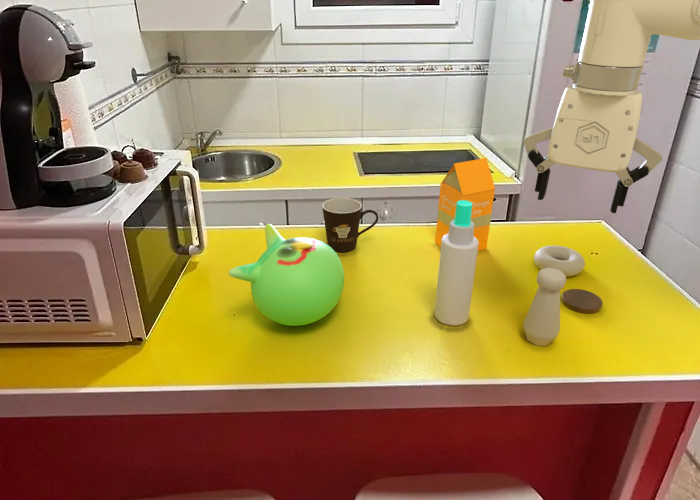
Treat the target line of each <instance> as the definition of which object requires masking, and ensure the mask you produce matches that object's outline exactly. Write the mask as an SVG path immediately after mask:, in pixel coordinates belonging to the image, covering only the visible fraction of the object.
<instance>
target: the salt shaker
mask: <svg viewBox="0 0 700 500" xmlns="http://www.w3.org/2000/svg"><path fill="white" fill-rule="evenodd" d="M566 282H567V277H566V276H565V274H564V273H563V272H562V271H560V270H558V269H555V268H544V269H542V270H541V269H539V271H538V274H537V275H536V283H537V285H538V287H537V290H536V292H535V294H534V297H533V298H532V301H531V304H530V306H529V309H528V311H527V313H526V316H525V318H524V320H523V323H522V328H523V330H524V333H525V338H526V340H527V341H528V342H530V343H531V344H532V345H534V346H539V347H540V346H541V347H547V346H548V345H550V343H552V342H553V341H554V340H556V338H557V337H558V336H559V334H560V331H561V290H562V289H564V288H565V285H566Z"/></svg>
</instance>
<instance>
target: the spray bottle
mask: <svg viewBox="0 0 700 500" xmlns="http://www.w3.org/2000/svg"><path fill="white" fill-rule="evenodd" d="M471 213H472V202H470V201H466V200H460V201H457V205H456V212H455V219H454V220H452V221H451V222H450V228H449V234H446V235H444V236H443V237H442V242H441V247H440V253H439V262H438V273H437V282H436V283H437V284H436V293H435V304H434V317H435V319H436V320H437V321H438V322H439V323H442V324H444V325H447V326H450V327H451V326H452V327H457V326H462V325H464V324H466V323H467V322H468V320H469V317H470V310H471V303H472V298H473V297H472V295H473V289H474V280H475V273H476V266H477V260H478V259H477V258H478V253H479V251H478V245H479V242H478V240H477V238H475V237H474V236H473V233H474V223H473V222H472V221H471Z"/></svg>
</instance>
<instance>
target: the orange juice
mask: <svg viewBox="0 0 700 500" xmlns="http://www.w3.org/2000/svg"><path fill="white" fill-rule="evenodd" d="M495 193H496V186H495V182H494V180H493V176H492V172H491V169H490V165H489V162H488V158H487V157H483V158H478V159H473V160H472V159H471V160H465V161H461V162H456V163H453V165H452V166H451V168H450V170H449V171H448V173H446V175H445V177H444V178H443V180H442V181H441V182H440V186H439V196H438V207H437V216H436V228H435V229H436V231H435V241H434V243H435V244H436V245H437V246H439V247H440V248H441V242H442V237H443V236H444V235H446V234H449V228H450V222H451V221H452V220H454V219H455V212H456V205H457V201H460V200H466V201H470V202H472V213H471V221H472V222H473V223H474V233H473V236H474V237H475V238H477V240H478V242H479V245H478V252H479V251H482V250H486V249H487V248H488V241H489V233H490V225H491V220H492V215H493V214H492V213H493V205H494V199H495Z"/></svg>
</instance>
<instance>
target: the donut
mask: <svg viewBox="0 0 700 500" xmlns="http://www.w3.org/2000/svg"><path fill="white" fill-rule="evenodd" d="M533 262H534V264H535V265H536V267H537V268H538V269H539V270H542V269H544V268H555V269H558V270H560V271H562V272H563V273H564V274H565V276H566V278H568V277H570V278H571V277H574V276H578V275H579V274H580V273H582V271H583V270H584V269H585V266H586V262H585V259H584V257H583V256H582V254H581V253H580V252H578V251H576V250H575V249H572V248H570V247H566V246H562V245H546V246H542V247H540V248H539V249H537V251H536V252H535V254H534V256H533Z"/></svg>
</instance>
